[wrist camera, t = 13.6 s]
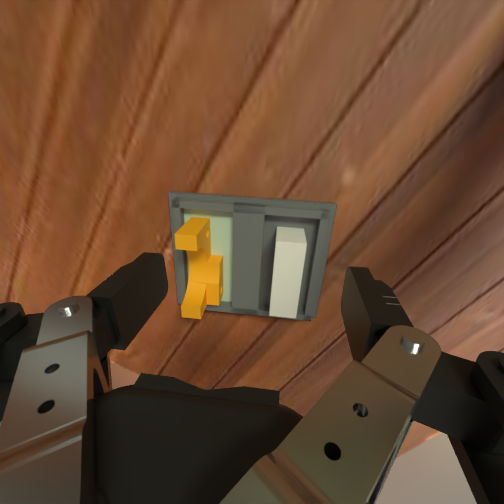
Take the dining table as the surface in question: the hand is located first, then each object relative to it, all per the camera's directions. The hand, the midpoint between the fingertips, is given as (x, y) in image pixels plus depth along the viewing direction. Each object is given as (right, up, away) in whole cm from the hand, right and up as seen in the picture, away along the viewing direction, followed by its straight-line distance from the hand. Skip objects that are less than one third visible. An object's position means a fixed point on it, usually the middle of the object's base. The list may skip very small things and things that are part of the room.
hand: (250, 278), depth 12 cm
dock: (0, 0, +28) cm, 28 cm away
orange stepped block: (-6, 0, +27) cm, 28 cm away
